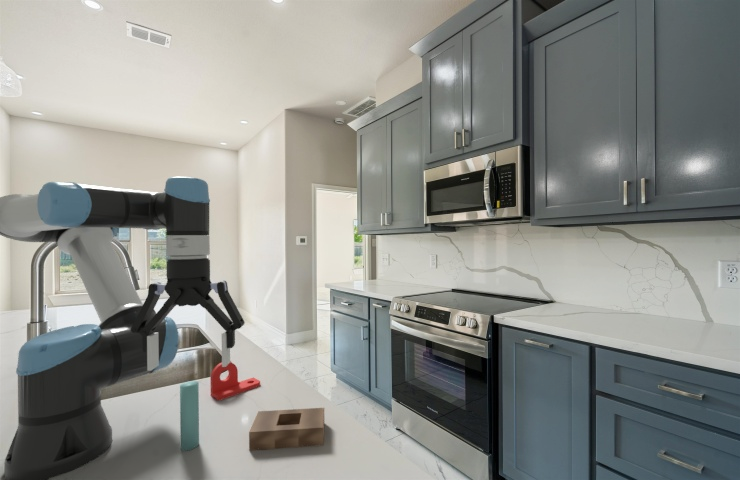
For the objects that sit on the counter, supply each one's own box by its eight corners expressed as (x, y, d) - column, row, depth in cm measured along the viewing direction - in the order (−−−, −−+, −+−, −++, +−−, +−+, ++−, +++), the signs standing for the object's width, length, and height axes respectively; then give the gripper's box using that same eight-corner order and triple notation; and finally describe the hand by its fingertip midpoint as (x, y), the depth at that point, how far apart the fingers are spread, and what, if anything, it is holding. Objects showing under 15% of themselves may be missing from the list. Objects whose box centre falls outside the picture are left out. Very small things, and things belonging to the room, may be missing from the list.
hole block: (249, 450, 66) (249, 432, 66) (258, 427, 74) (258, 411, 74) (323, 445, 67) (323, 427, 67) (324, 423, 75) (324, 407, 75)
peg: (177, 451, 66) (177, 388, 66) (184, 441, 69) (184, 381, 69) (195, 449, 66) (194, 387, 66) (201, 440, 69) (201, 380, 69)
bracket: (218, 401, 87) (218, 369, 87) (210, 395, 90) (210, 365, 90) (261, 385, 95) (261, 357, 95) (253, 381, 99) (253, 353, 98)
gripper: (107, 259, 63) (109, 377, 63) (249, 257, 65) (251, 369, 65) (131, 257, 70) (133, 362, 70) (258, 255, 73) (259, 356, 73)
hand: (190, 366), depth 68 cm, fingers open, 13 cm apart
